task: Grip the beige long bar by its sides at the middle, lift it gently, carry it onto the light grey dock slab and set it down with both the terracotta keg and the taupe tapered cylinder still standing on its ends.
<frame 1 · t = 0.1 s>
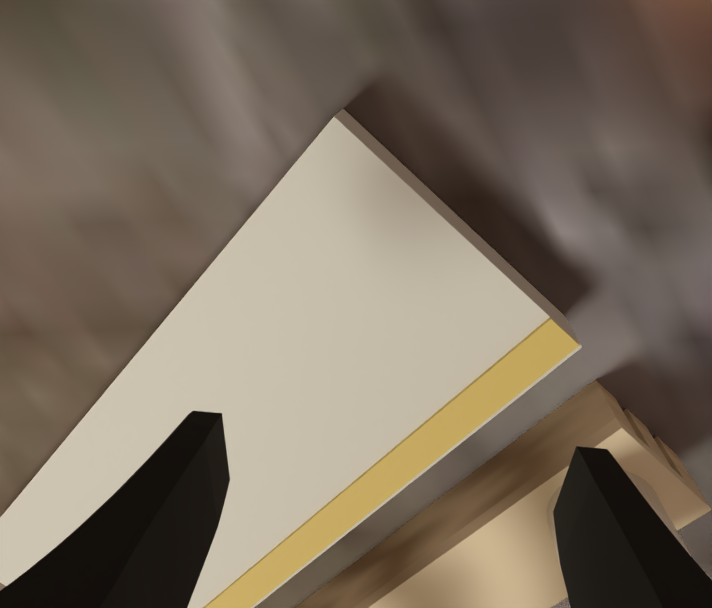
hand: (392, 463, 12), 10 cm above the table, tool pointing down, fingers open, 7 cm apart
taupe tapered cylinder: (602, 512, 21), point 3 cm above the table
beige long bar: (425, 560, 28), on the table, touching terracotta keg
dock: (242, 431, 25), on the table
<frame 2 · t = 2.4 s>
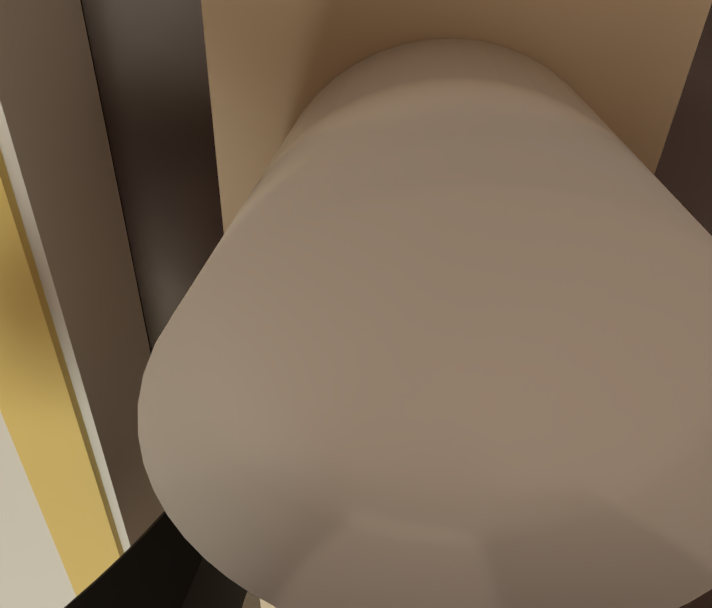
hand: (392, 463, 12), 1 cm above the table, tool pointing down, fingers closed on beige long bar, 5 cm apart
taupe tapered cylinder: (437, 219, 7), point 3 cm above the table
beige long bar: (394, 406, 13), on the table, touching gripper, terracotta keg
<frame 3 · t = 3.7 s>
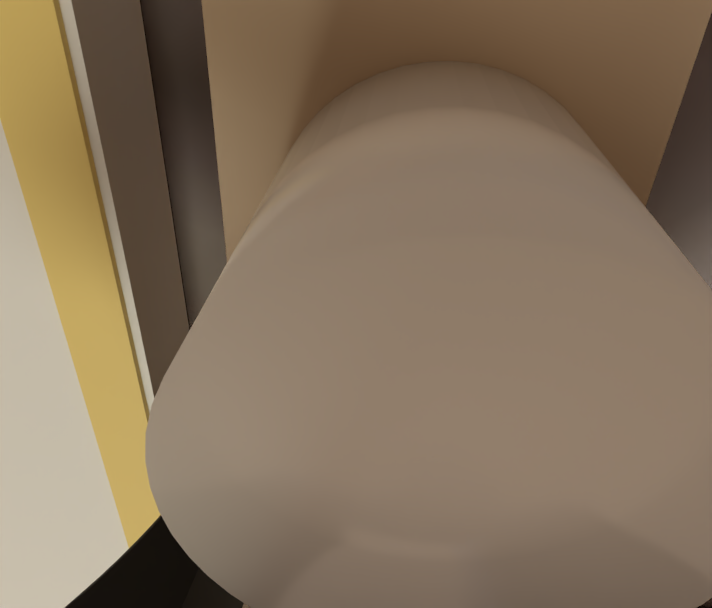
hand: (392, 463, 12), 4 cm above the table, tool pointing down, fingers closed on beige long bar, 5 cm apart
taupe tapered cylinder: (434, 234, 7), point 6 cm above the table, touching beige long bar
beige long bar: (394, 406, 13), point 2 cm above the table, touching taupe tapered cylinder, gripper, terracotta keg
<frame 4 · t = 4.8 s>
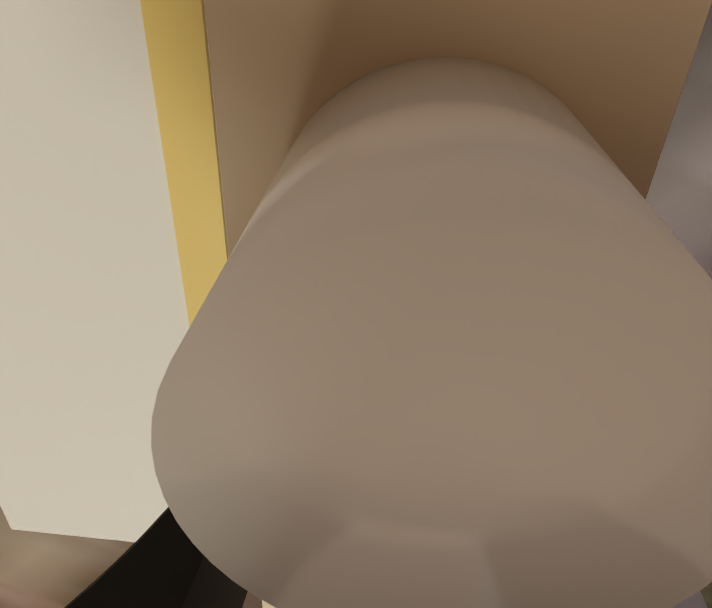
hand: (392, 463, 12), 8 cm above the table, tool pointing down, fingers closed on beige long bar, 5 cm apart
taupe tapered cylinder: (434, 230, 7), point 10 cm above the table, touching beige long bar
beige long bar: (395, 403, 13), point 7 cm above the table, touching taupe tapered cylinder, gripper, terracotta keg
dock: (98, 243, 20), on the table
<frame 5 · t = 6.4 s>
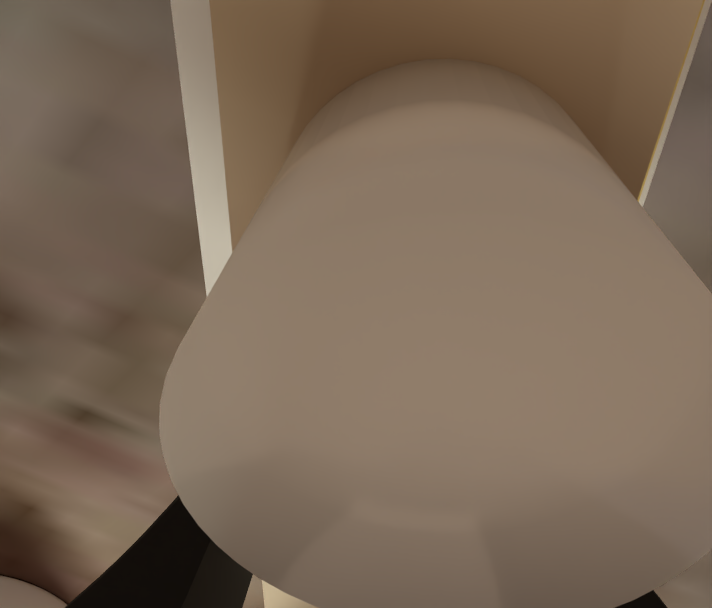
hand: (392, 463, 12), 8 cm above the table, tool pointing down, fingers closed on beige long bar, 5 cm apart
taupe tapered cylinder: (433, 227, 7), point 9 cm above the table, touching beige long bar
beige long bar: (395, 399, 14), point 6 cm above the table, touching taupe tapered cylinder, gripper, terracotta keg
dock: (401, 277, 18), on the table
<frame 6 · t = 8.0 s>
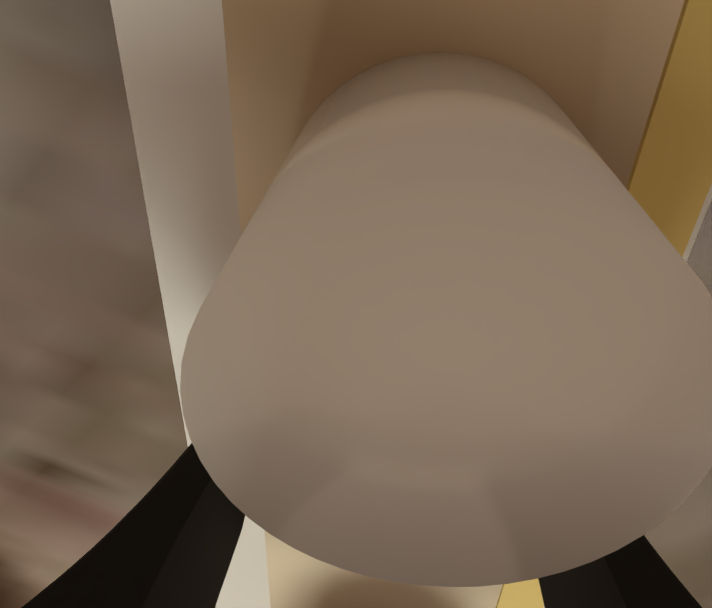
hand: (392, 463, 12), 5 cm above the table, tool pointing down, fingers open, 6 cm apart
taupe tapered cylinder: (431, 214, 8), point 6 cm above the table, touching beige long bar
beige long bar: (396, 388, 14), point 2 cm above the table, touching taupe tapered cylinder, dock, terracotta keg
dock: (398, 326, 16), on the table
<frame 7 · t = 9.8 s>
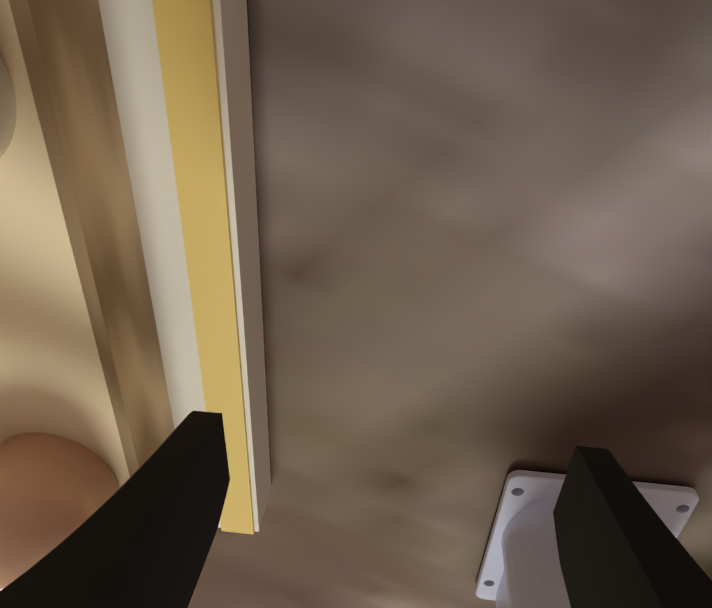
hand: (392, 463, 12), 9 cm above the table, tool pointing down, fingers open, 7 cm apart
beige long bar: (67, 259, 18), point 2 cm above the table, touching taupe tapered cylinder, dock, terracotta keg
dock: (103, 224, 20), on the table
terracotta keg: (57, 477, 18), point 6 cm above the table, touching beige long bar
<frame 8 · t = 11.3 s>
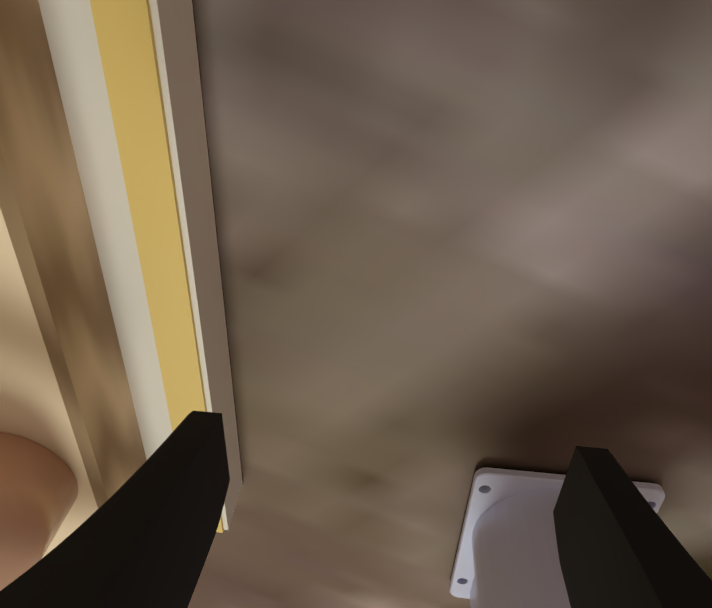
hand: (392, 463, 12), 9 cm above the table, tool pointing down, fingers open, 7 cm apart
beige long bar: (24, 260, 18), point 2 cm above the table, touching taupe tapered cylinder, dock, terracotta keg
dock: (64, 225, 20), on the table
terracotta keg: (17, 475, 19), point 6 cm above the table, touching beige long bar
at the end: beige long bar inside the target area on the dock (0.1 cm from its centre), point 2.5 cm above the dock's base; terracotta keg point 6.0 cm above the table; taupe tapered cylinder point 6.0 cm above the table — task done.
